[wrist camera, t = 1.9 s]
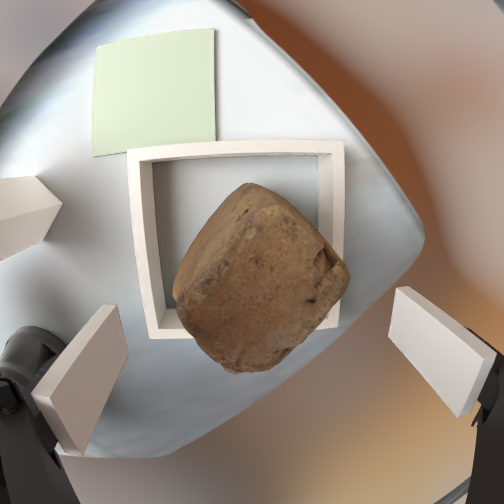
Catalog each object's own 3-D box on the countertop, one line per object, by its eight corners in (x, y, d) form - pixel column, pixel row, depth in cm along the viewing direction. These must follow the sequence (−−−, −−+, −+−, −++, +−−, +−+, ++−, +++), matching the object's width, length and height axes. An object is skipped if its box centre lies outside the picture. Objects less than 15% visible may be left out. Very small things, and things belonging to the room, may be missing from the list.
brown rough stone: (246, 174, 31) (276, 175, 12) (296, 221, 33) (383, 285, 14) (180, 248, 33) (126, 345, 14) (230, 290, 35) (237, 418, 15)
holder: (158, 318, 35) (149, 338, 30) (141, 152, 30) (126, 149, 25) (324, 308, 36) (337, 327, 31) (327, 145, 31) (343, 141, 26)
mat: (94, 156, 29) (92, 156, 29) (98, 48, 26) (96, 46, 25) (215, 143, 30) (215, 142, 30) (214, 30, 27) (213, 28, 26)
